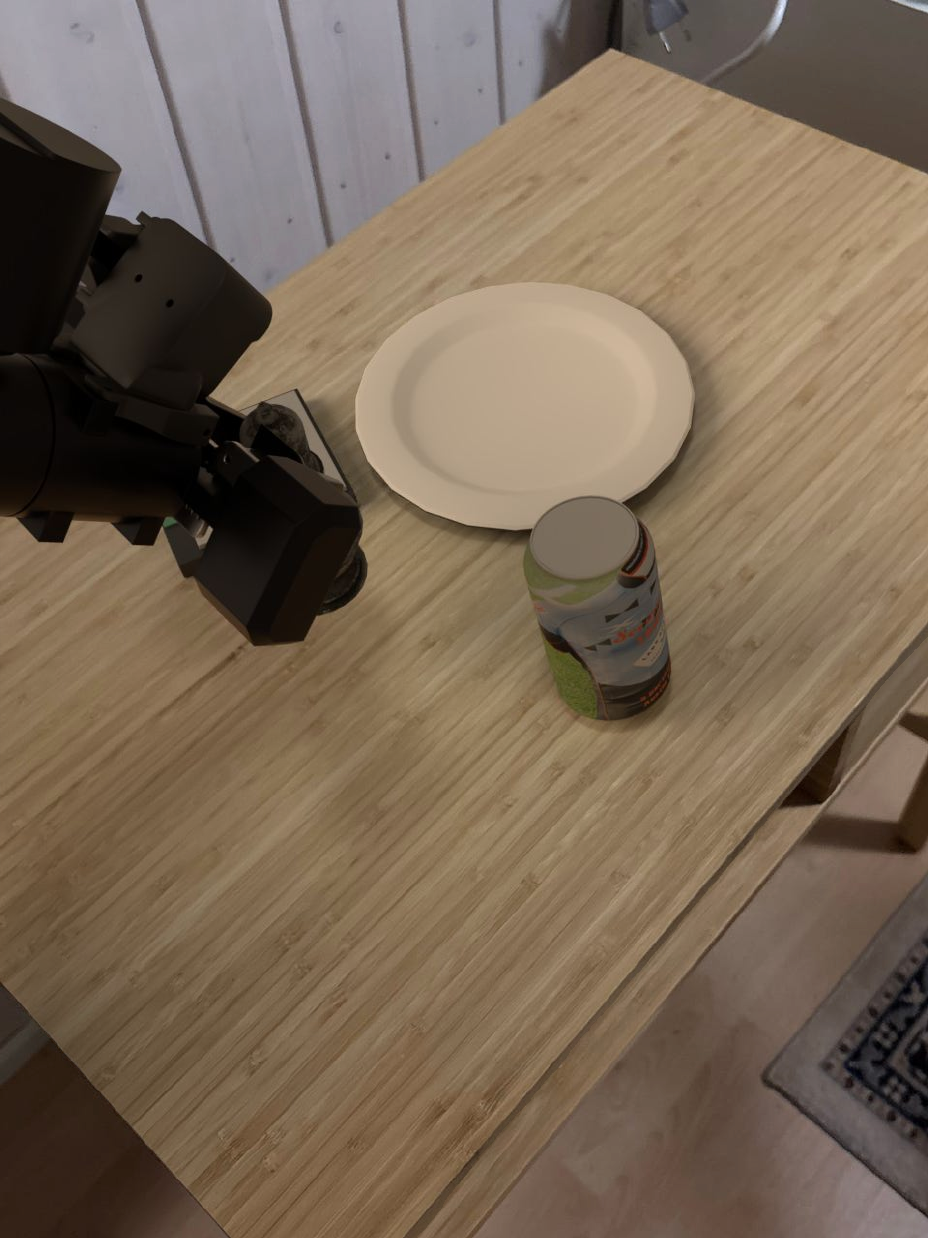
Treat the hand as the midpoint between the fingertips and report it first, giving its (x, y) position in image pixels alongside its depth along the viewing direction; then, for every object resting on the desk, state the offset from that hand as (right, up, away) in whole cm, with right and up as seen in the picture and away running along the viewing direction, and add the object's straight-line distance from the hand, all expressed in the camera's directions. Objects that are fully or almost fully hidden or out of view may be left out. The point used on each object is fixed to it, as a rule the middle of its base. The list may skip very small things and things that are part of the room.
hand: (311, 470), depth 53 cm
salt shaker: (0, -5, +5) cm, 7 cm away
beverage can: (+14, -10, +8) cm, 19 cm away
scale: (-6, +1, +18) cm, 19 cm away
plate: (+11, +6, +19) cm, 23 cm away
